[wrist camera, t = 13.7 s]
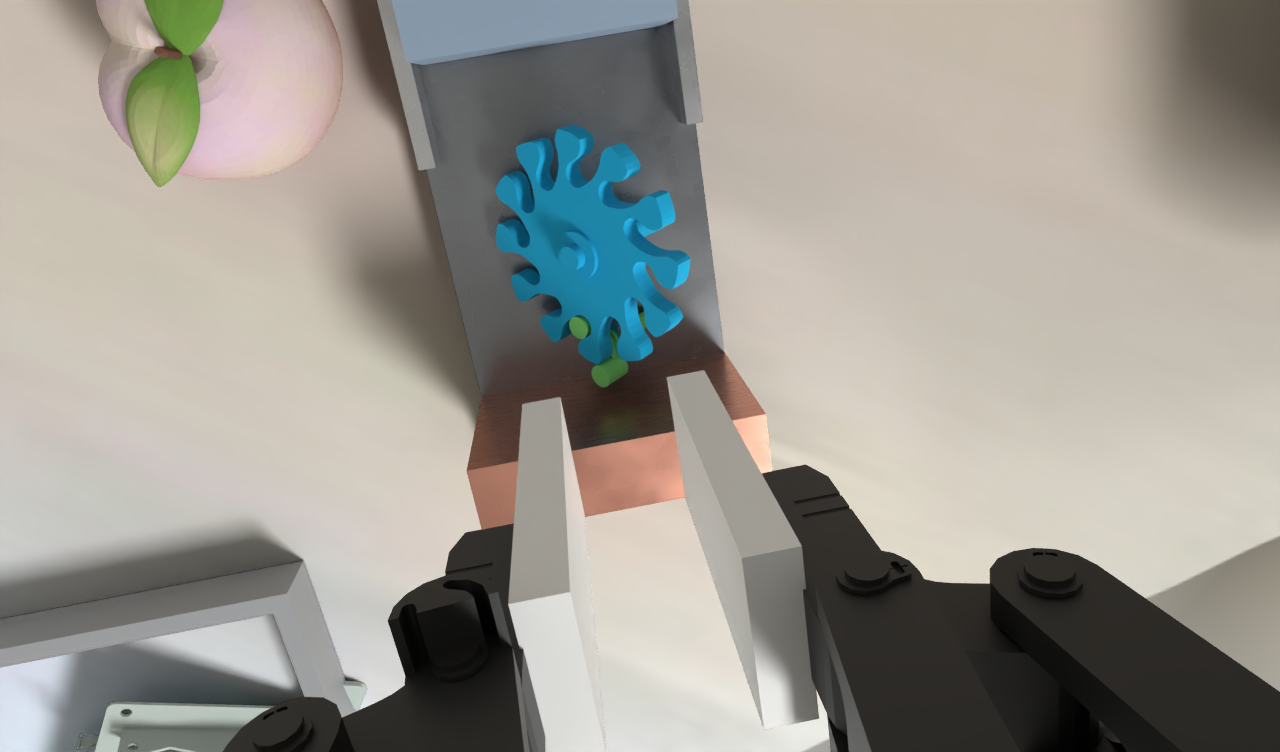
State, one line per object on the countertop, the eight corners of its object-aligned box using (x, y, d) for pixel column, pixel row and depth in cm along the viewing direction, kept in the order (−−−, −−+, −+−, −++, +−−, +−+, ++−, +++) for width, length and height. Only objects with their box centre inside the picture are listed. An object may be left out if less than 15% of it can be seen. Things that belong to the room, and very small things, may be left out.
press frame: (659, -100, 35) (701, -168, 25) (725, 410, 43) (775, 501, 34) (379, -56, 34) (316, -109, 25) (501, 453, 43) (489, 557, 33)
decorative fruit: (361, 185, 37) (299, 219, 28) (169, 156, 36) (38, 182, 27) (373, -40, 34) (309, -85, 25) (165, -79, 33) (16, -143, 24)
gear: (466, 123, 34) (661, 144, 28) (564, 98, 38) (752, 111, 32) (504, 362, 39) (675, 421, 33) (587, 317, 43) (752, 363, 37)
